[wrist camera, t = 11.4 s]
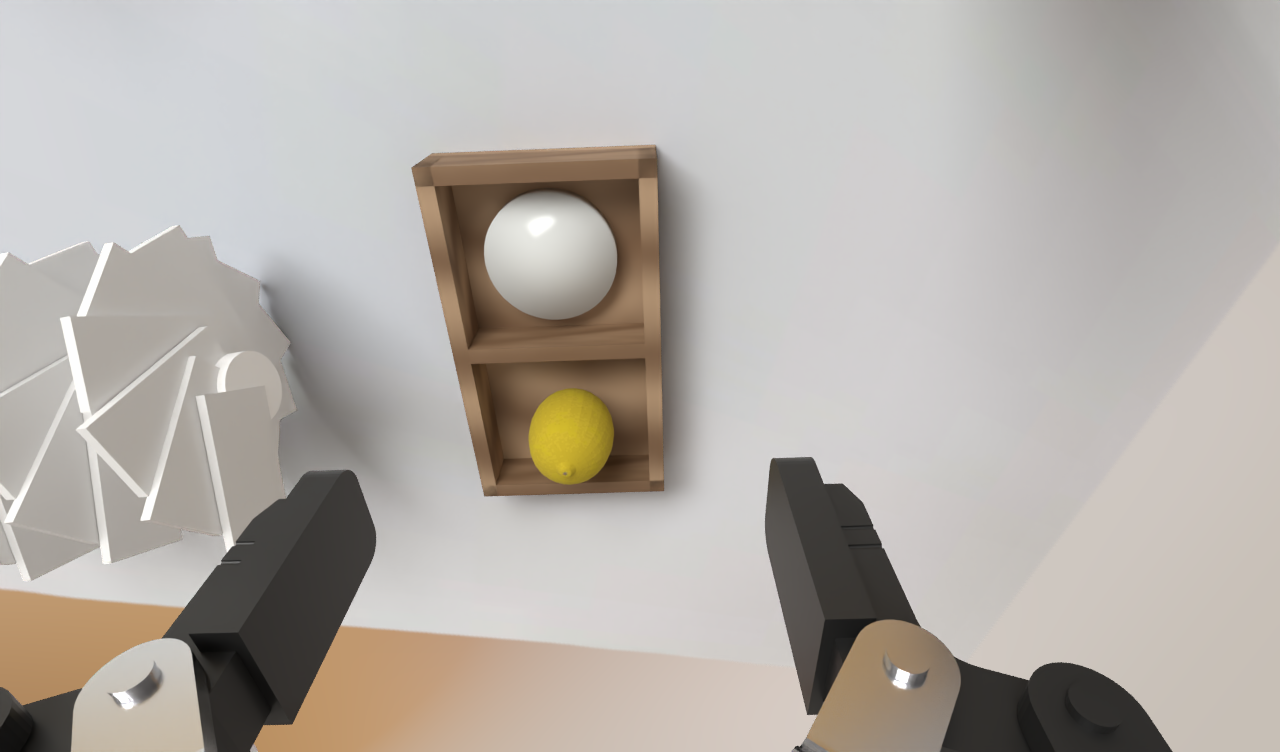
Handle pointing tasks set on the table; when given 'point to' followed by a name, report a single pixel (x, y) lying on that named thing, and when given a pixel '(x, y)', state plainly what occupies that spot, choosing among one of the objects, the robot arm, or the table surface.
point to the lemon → (571, 436)
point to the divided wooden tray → (543, 348)
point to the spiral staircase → (134, 401)
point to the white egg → (551, 253)
